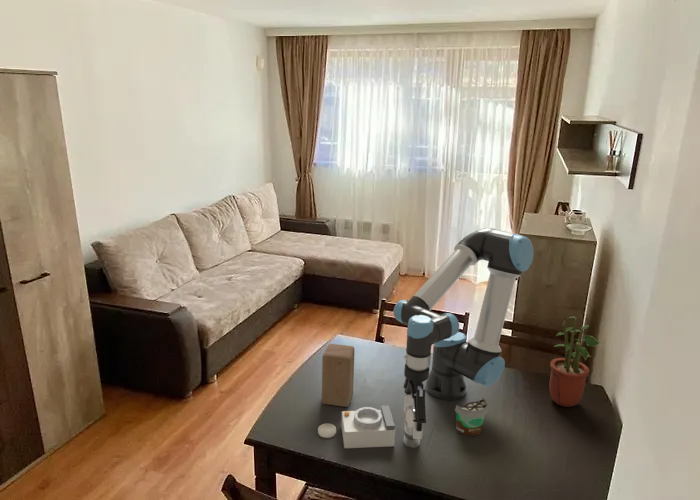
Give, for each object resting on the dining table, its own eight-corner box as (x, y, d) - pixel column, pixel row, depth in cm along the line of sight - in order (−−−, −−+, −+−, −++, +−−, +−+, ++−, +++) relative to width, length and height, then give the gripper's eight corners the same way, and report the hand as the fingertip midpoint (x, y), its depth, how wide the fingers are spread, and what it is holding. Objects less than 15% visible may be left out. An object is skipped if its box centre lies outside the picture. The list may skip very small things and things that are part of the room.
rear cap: (335, 426, 168) (335, 423, 168) (336, 438, 163) (336, 434, 162) (317, 427, 168) (317, 423, 167) (318, 439, 162) (318, 435, 162)
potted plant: (572, 417, 177) (588, 327, 167) (532, 397, 188) (545, 312, 178) (594, 399, 188) (610, 314, 178) (554, 382, 199) (568, 301, 189)
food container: (464, 442, 162) (467, 415, 159) (452, 431, 167) (455, 405, 164) (493, 432, 168) (496, 406, 165) (481, 421, 173) (484, 396, 170)
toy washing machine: (388, 424, 170) (389, 404, 168) (394, 446, 159) (395, 424, 157) (341, 426, 168) (342, 406, 166) (344, 448, 158) (344, 426, 155)
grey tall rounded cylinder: (417, 436, 164) (420, 405, 161) (421, 447, 159) (424, 414, 156) (402, 437, 164) (404, 405, 160) (405, 448, 159) (407, 415, 155)
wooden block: (348, 408, 178) (349, 358, 173) (321, 404, 180) (321, 354, 174) (353, 393, 188) (355, 345, 182) (327, 389, 189) (328, 342, 184)
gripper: (397, 346, 165) (393, 402, 171) (414, 387, 141) (409, 450, 147) (419, 346, 166) (415, 401, 172) (440, 386, 142) (434, 449, 148)
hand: (412, 424), depth 159 cm, fingers open, 13 cm apart
